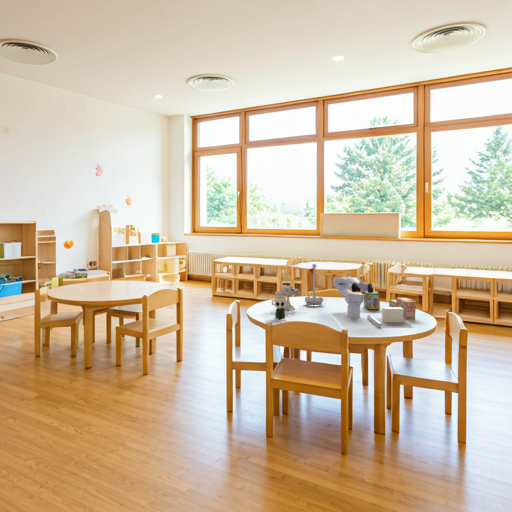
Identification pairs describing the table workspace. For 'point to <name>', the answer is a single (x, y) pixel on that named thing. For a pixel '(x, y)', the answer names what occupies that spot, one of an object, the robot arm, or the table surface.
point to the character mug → (280, 306)
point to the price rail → (374, 321)
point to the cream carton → (392, 314)
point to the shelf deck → (393, 324)
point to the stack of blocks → (405, 307)
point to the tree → (288, 294)
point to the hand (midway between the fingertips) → (366, 290)
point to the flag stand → (313, 300)
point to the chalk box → (372, 300)
